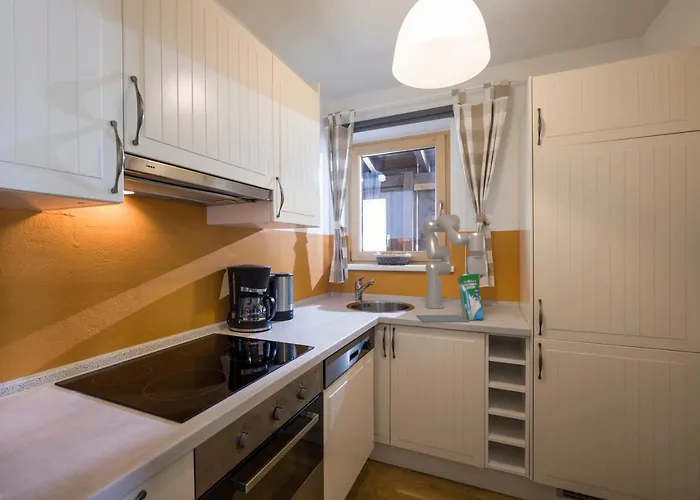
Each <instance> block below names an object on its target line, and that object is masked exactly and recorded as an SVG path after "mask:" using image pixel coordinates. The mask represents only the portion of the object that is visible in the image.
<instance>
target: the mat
mask: <svg viewBox="0 0 700 500" xmlns="http://www.w3.org/2000/svg"><path fill="white" fill-rule="evenodd" d="M416 316H417V317H418V319H419V320H420V321H421V322H422V323H470V320H467V319H465V318H464V317H463V315H462V316H461V315H460V314H428V315H427V314H424V315H423V314H421V315H419V314H416ZM416 316H415V317H416ZM417 317H416V318H417Z"/></svg>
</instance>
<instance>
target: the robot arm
mask: <svg viewBox="0 0 700 500" xmlns="http://www.w3.org/2000/svg"><path fill="white" fill-rule="evenodd" d="M460 223H461V220H460V217H459V216H458V215H457V214H448V213H446V214H441V215H439V216H438V217H437V219H428V220H426V221H425V222H424V223H423V226H422V232H423V233H422V234H423V236H424V240H425V248H426V250H425V251H426V257H427V258H428V259H430V260H431V261H428V262H427V263H426V264H425V271H426V283H427V284H426V285H427V286H426V287H427V289H426V290H427V291H426V292H427V295H426V296H427V298H426V300H427V301H426V303H427V304H425V305H424V307H425V308H428V309H434V310H435V309H437V310H438V309H444V308H445V305H443V301H442V298H443V297H442V294H443V293H442V292H443V291H442V288H443V287H442V284H443V283H442V279H441V277H440V276H445V275H449V274H450V273H451V272H452V263H451V253H450V252H451V251H450V250H449V248H448V247H447V246H445V245H439V239H438V237H437V235H436V234H435V233H446V237H447V239H448V241H449V242H451V243H452V244H453V245H454V246H458V247H459V246H460V247H464V246H465V247H466V246H467V247H468V256H467V257H466V261H465V274H466V275H470V274H477V276H478V283H479V284H480V280H481V279H482V278H484V277H486V273H487V267H486V259H485V255H486V252H485V251H484V234H483V233H482V232H480V231H479V232H459V231H460V229H461V225H460ZM433 260H434V261H433Z"/></svg>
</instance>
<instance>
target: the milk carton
mask: <svg viewBox="0 0 700 500" xmlns="http://www.w3.org/2000/svg"><path fill="white" fill-rule="evenodd" d="M466 274H467V273H464V274H462V275H460V276H459V277H457V285H458V291H459V299H460V305H461V311H462V317H463V318H465V319H467V320H469V321H475V320H482V319H484V318H485V315H484V311H483V303H482V297H481V290H480V282H479V283H478V276H477V274H470V275H466Z"/></svg>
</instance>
